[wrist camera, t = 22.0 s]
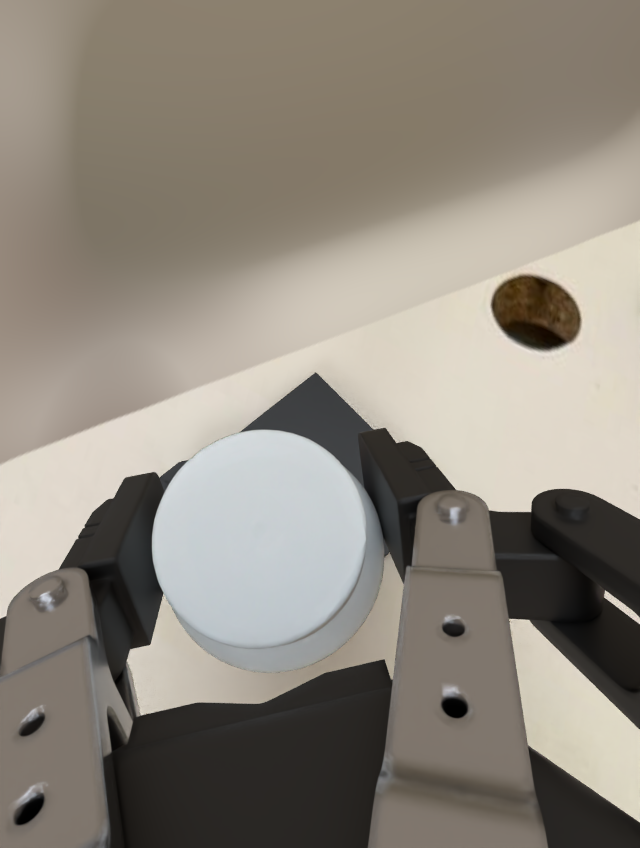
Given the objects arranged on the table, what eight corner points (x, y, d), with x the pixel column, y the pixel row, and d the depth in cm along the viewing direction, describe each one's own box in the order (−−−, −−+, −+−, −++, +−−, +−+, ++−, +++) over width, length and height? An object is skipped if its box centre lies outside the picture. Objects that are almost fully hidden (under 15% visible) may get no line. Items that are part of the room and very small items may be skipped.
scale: (268, 669, 25) (261, 677, 23) (148, 509, 29) (130, 499, 26) (438, 504, 29) (450, 493, 26) (313, 378, 32) (313, 357, 30)
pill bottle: (224, 502, 18) (128, 400, 9) (356, 497, 18) (390, 390, 9) (218, 650, 16) (86, 708, 7) (366, 643, 16) (423, 693, 7)
